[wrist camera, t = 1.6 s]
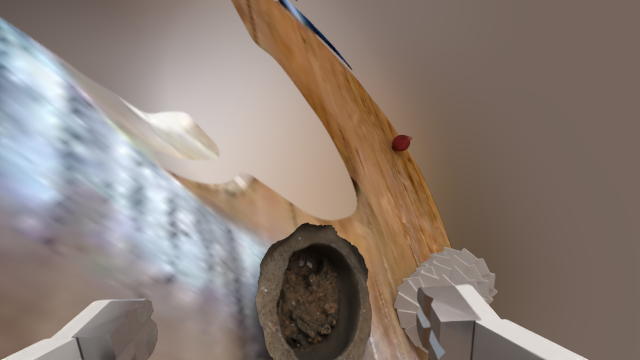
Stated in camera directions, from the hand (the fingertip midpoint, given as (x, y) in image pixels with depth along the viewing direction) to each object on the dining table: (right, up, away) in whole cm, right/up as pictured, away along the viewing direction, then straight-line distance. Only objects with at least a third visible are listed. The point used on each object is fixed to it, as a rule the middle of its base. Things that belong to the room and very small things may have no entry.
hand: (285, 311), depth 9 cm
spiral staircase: (+25, -27, +67) cm, 77 cm away
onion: (+28, +16, +102) cm, 107 cm away
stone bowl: (-3, -18, +44) cm, 48 cm away
